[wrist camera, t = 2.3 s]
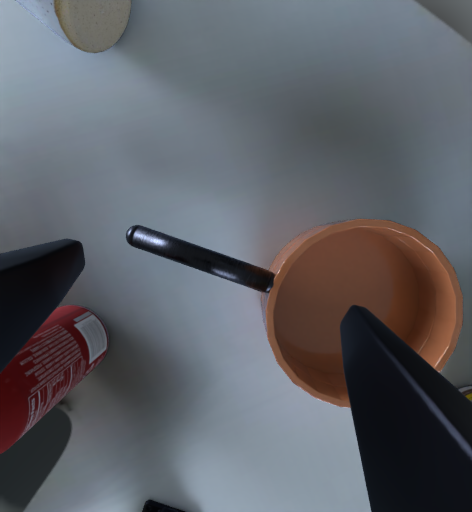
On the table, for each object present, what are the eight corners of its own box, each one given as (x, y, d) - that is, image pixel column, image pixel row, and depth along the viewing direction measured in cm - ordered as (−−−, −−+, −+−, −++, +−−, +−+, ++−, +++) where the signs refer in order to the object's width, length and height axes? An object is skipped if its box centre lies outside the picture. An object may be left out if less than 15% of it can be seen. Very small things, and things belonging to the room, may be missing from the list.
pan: (383, 396, 25) (415, 433, 20) (239, 345, 25) (238, 372, 20) (447, 253, 23) (497, 259, 19) (293, 198, 23) (306, 190, 18)
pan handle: (280, 273, 21) (283, 277, 19) (272, 293, 21) (275, 298, 19) (135, 222, 21) (125, 221, 19) (129, 242, 21) (118, 243, 19)
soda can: (108, 300, 24) (-19, 366, 12) (117, 365, 25) (4, 488, 13) (41, 304, 25) (-148, 375, 13) (51, 369, 25) (-119, 494, 13)
